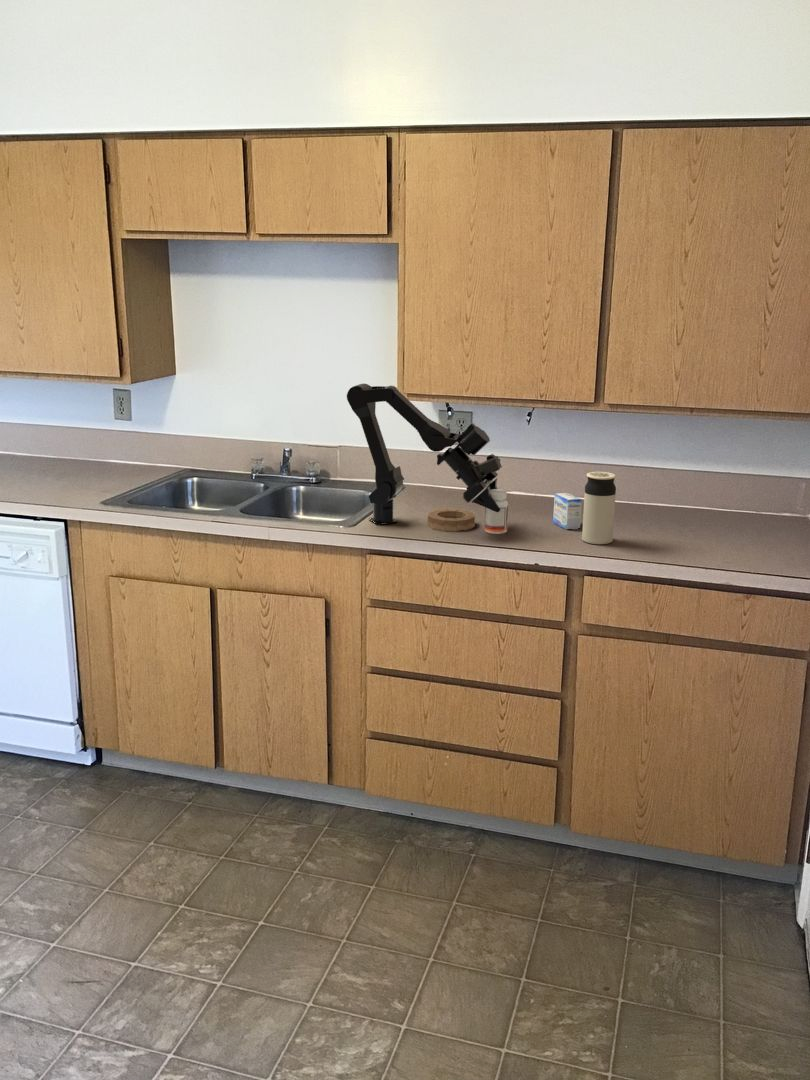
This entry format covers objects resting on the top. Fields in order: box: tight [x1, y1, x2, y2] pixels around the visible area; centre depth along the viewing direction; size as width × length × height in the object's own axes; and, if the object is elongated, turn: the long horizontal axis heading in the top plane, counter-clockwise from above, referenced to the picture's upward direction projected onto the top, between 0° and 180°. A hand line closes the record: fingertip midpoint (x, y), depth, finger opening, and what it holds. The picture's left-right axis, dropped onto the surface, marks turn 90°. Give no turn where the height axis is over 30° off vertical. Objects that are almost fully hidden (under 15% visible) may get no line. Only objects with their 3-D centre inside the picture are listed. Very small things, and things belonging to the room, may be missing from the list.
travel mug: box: [581, 471, 617, 545], centre depth 264 cm, size 8×8×18 cm
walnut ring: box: [427, 508, 476, 532], centre depth 281 cm, size 13×13×3 cm
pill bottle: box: [484, 488, 509, 535], centre depth 273 cm, size 6×6×11 cm
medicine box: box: [552, 492, 583, 530], centre depth 279 cm, size 8×4×9 cm, turn 21°
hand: (501, 508), depth 273 cm, fingers closed on pill bottle, 6 cm apart
